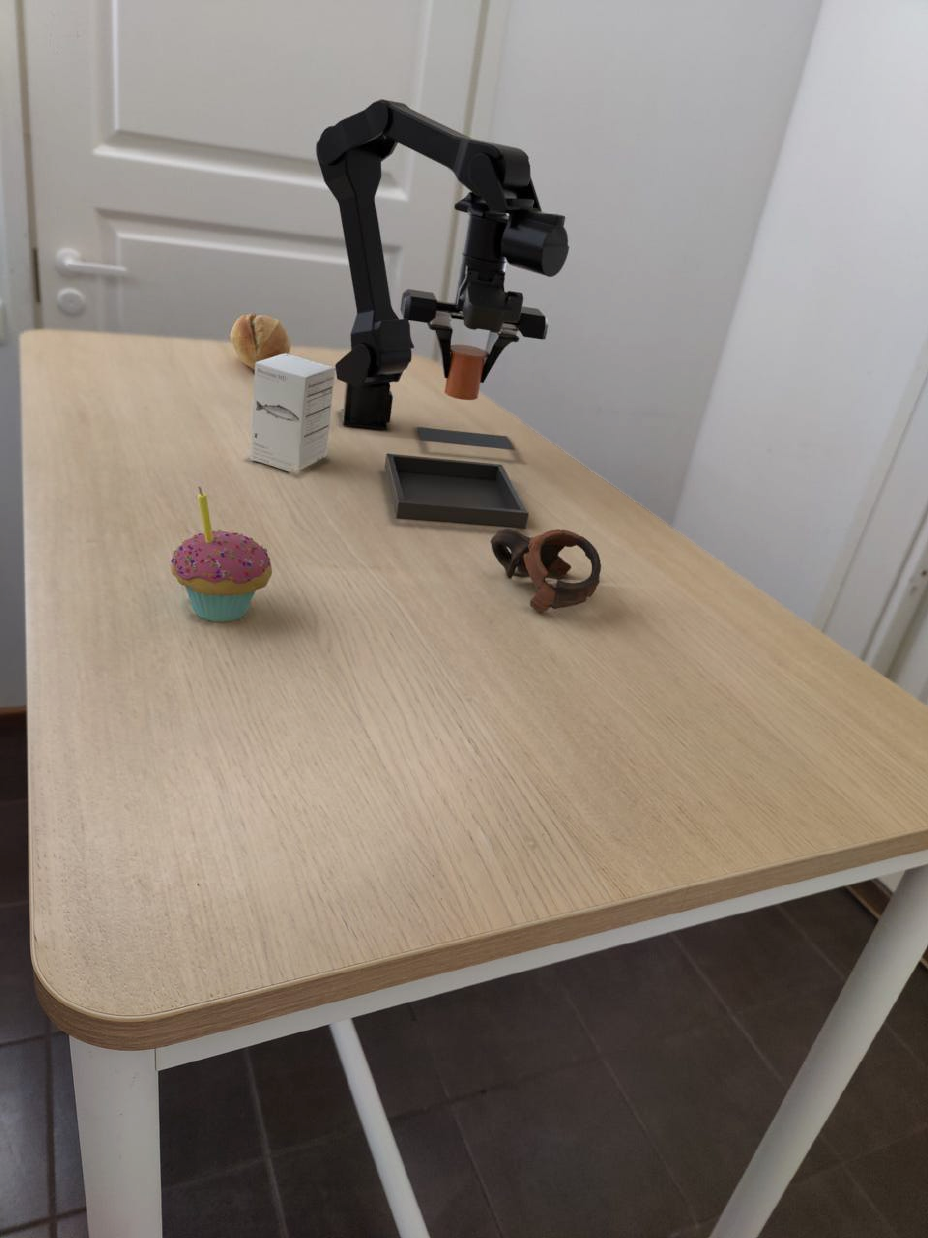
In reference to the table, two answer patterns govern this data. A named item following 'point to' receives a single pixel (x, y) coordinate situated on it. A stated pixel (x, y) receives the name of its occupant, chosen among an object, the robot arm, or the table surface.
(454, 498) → the tray
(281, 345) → the bread roll
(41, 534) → the table surface
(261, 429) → the white packaging box
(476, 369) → the orange cylinder
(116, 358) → the table surface
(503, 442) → the mat
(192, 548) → the cupcake
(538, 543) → the broken pottery
